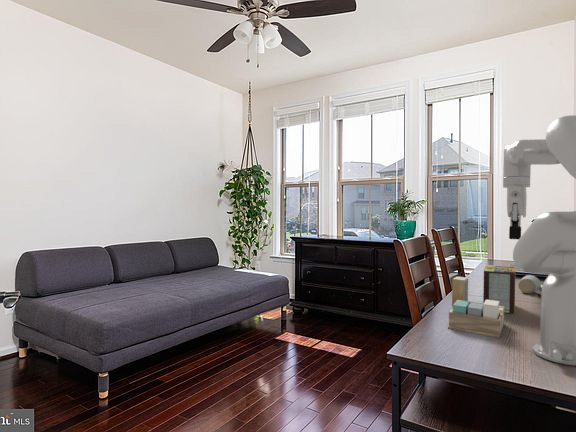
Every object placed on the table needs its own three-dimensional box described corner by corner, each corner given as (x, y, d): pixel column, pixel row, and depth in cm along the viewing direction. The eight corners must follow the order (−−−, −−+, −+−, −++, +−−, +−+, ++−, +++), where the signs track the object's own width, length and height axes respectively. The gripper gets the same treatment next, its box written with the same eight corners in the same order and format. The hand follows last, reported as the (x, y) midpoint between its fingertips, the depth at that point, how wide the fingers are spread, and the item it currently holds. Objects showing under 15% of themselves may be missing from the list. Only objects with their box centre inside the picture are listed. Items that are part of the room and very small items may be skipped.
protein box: (513, 305, 147) (514, 266, 147) (514, 314, 134) (515, 272, 134) (484, 301, 153) (485, 264, 152) (482, 310, 139) (483, 270, 139)
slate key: (480, 324, 115) (481, 309, 115) (467, 322, 117) (467, 307, 117) (483, 319, 121) (483, 304, 121) (470, 317, 123) (471, 302, 123)
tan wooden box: (499, 337, 110) (500, 317, 110) (447, 328, 118) (448, 309, 118) (503, 323, 123) (504, 305, 123) (456, 316, 132) (457, 298, 131)
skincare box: (456, 306, 144) (456, 276, 144) (468, 308, 141) (468, 277, 141) (451, 310, 139) (452, 278, 139) (463, 312, 136) (464, 280, 136)
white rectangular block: (496, 322, 113) (497, 306, 112) (483, 319, 115) (483, 304, 115) (499, 316, 118) (499, 301, 118) (485, 314, 120) (486, 299, 120)
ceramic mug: (516, 292, 169) (517, 276, 168) (521, 289, 174) (522, 273, 174) (544, 297, 161) (545, 280, 161) (548, 294, 167) (549, 277, 167)
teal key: (465, 322, 118) (465, 306, 117) (452, 320, 120) (453, 304, 120) (468, 316, 123) (469, 302, 123) (456, 314, 126) (457, 300, 125)
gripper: (529, 181, 110) (528, 241, 111) (530, 183, 123) (529, 238, 123) (501, 181, 115) (499, 240, 115) (504, 184, 127) (503, 236, 128)
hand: (515, 238), depth 119 cm, fingers closed
